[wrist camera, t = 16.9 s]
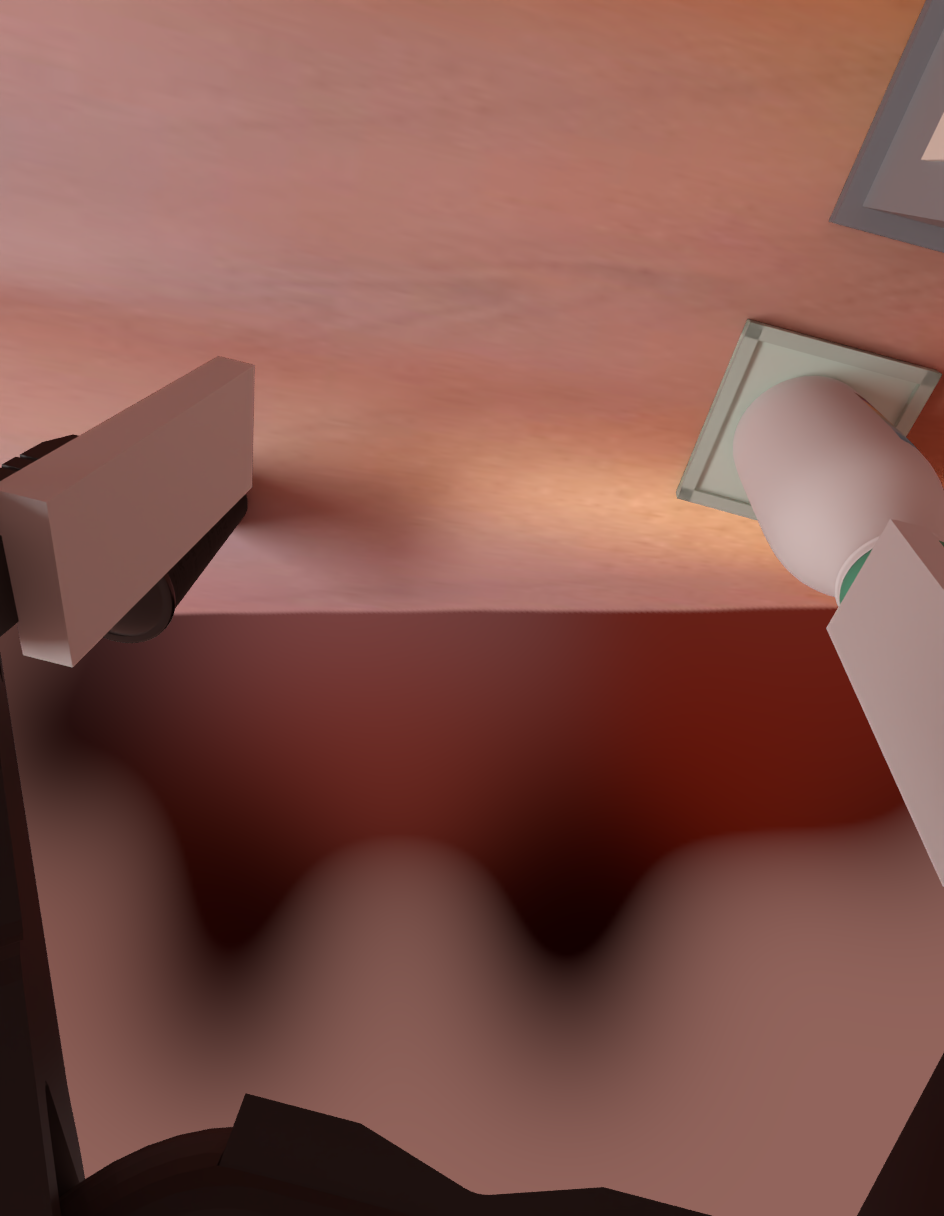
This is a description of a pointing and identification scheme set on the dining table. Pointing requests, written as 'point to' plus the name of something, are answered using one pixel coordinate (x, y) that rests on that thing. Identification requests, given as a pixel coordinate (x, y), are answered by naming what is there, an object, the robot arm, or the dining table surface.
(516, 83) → the dining table surface
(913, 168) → the dispenser unit
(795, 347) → the pad
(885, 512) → the milk bottle
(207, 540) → the drinking cup
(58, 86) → the dining table surface
